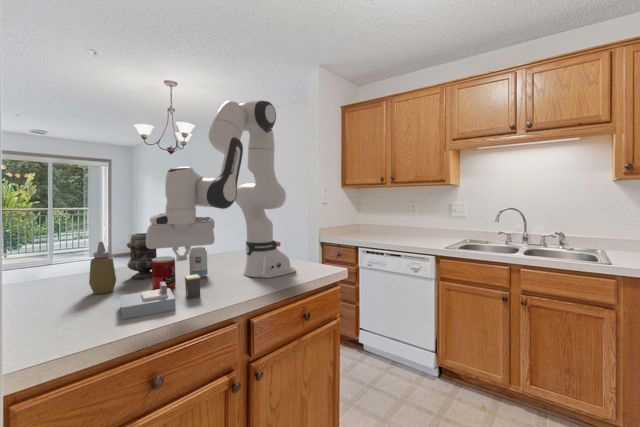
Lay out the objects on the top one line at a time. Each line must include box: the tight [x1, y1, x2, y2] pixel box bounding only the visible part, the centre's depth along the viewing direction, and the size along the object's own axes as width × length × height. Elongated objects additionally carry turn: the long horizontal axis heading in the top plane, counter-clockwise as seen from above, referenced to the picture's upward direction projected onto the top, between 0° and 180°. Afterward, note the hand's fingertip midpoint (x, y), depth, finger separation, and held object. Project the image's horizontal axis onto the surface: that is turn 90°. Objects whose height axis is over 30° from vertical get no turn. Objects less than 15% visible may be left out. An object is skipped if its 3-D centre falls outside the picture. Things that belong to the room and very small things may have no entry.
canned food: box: [151, 255, 176, 290], centre depth 120 cm, size 8×8×11 cm
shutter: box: [141, 281, 168, 301], centre depth 101 cm, size 7×7×3 cm
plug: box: [184, 274, 201, 300], centre depth 110 cm, size 4×4×7 cm
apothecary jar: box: [126, 232, 158, 281], centre depth 135 cm, size 12×12×18 cm
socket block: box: [120, 288, 177, 321], centre depth 100 cm, size 14×12×4 cm
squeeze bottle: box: [88, 241, 117, 295], centre depth 115 cm, size 8×8×18 cm
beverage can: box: [188, 246, 208, 279], centre depth 134 cm, size 7×7×12 cm
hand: (181, 260), depth 104 cm, fingers closed
